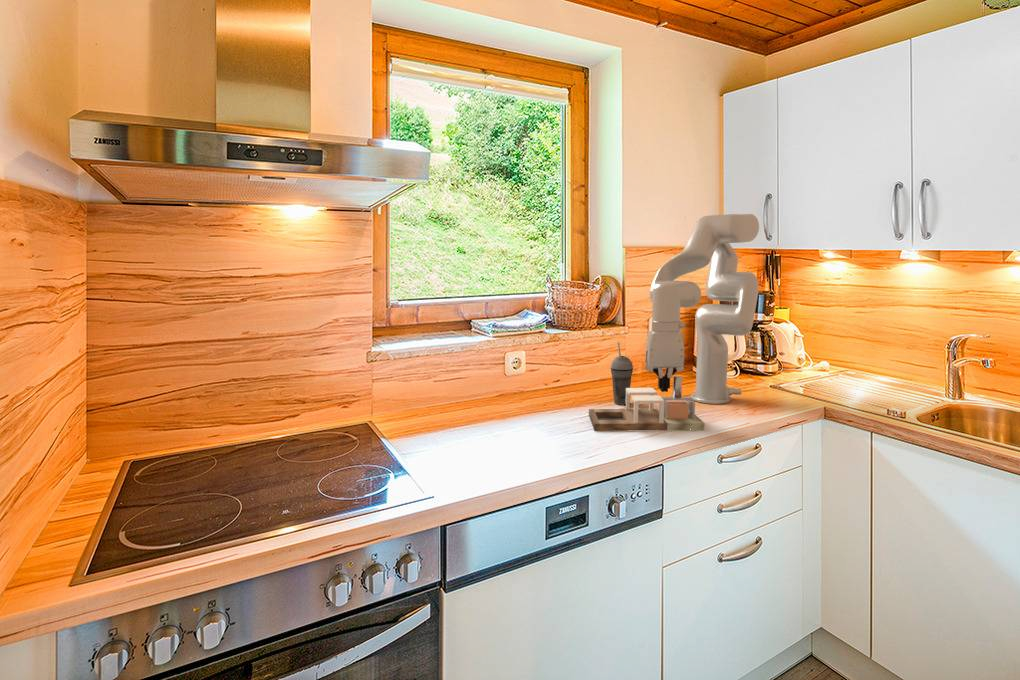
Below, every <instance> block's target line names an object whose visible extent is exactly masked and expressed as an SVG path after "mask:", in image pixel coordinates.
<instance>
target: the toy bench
mask: <svg viewBox="0 0 1020 680" xmlns="http://www.w3.org/2000/svg"><path fill="white" fill-rule="evenodd" d="M662 397H663V396H662ZM662 397H661V395H660V394H659V395H658V392H657V391H656V390H655V389H654V387H630V388H626V405H625V409H626V410H630V409H631V408H630V402H631V400H632V401H633V409H634V423H638V409H639V404H648V409H649V410H653V409H654V404H660V405H659V406H658V407H659V408H658V409H659V423H664V400H663V398H662ZM630 399H631V400H630Z"/></svg>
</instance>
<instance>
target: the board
mask: <svg viewBox="0 0 1020 680" xmlns="http://www.w3.org/2000/svg"><path fill="white" fill-rule="evenodd" d="M588 417H589V419H590V423H591V426H592V429H593V430H594V431H598V432H599V431H600V432H601V431H602V432H603V431H604V432H606V431H607V432H609V431H610V432H613V431H616V432H617V431H619V432H621V431H622V432H623V431H627V432H628V430H659V431H705V422H703V420H701V418H699V417H698V415H696V414H695V418H692V417H691V416H690V415H689V414H688V418H683V419H666V418H664V423H659V408H653V410H649V408H638V423H634V408H630V410H626V408H588ZM690 429H691V430H690Z"/></svg>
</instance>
